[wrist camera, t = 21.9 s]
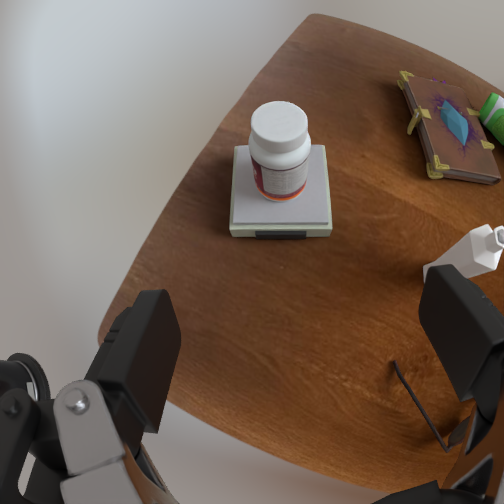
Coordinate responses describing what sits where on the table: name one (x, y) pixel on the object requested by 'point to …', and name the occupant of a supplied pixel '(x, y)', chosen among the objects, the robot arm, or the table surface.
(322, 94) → the table surface
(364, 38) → the table surface
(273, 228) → the scale
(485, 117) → the speaker
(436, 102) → the book
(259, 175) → the pill bottle
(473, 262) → the perfume bottle
